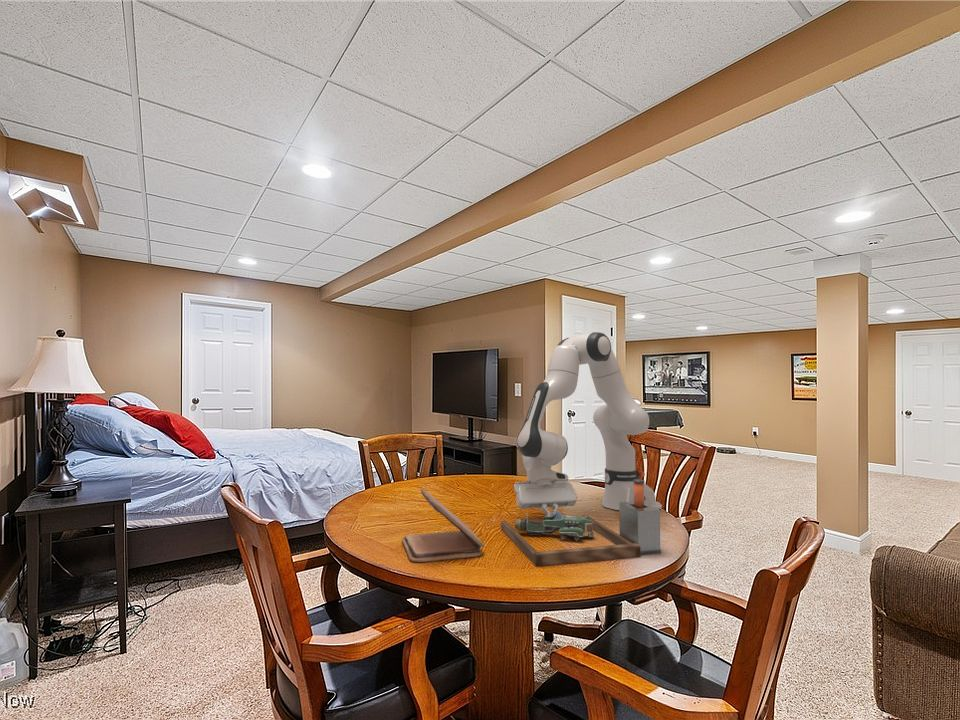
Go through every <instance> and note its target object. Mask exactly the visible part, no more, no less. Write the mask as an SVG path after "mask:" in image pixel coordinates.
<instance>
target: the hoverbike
mask: <svg viewBox="0 0 960 720" xmlns="http://www.w3.org/2000/svg"><path fill="white" fill-rule="evenodd" d="M528 513H529V512H526V518H517V519H516V520H514V523H513V524H512V525H514V529H515V530H516V531H517V530H518V531H525V532H526V533H527V535H528V536H530V537H532V536H536V537H537V538H539V537H541V536H542V535H543V534H544V535H545V536H551V535H552V534H553V533H555V532H557V531H558V532H559V534H560V539H561V540H563V541H564V540H565V539H566V538H567V536H569V537H573V539H574V541H576V542H577V541H580V540H584V537H585V535H584V534H587V538H588V539H587V540H589V539H591V540H592V538H594V537H595V533H594V530H593V529H592V523H593V522H592V521H591V520H590V519H589V518H586V517H587V516H588V515H587V516H585V517H583V516H573V515H563V513H561V512H560V510H557V511H556V514H555V515H553V517H547V516H544V517H543V518H542V519H541V518H540V519H539V518H531V517H529V516H528ZM528 517H529V518H528Z"/></svg>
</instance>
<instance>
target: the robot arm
mask: <svg viewBox="0 0 960 720" xmlns="http://www.w3.org/2000/svg"><path fill="white" fill-rule="evenodd" d="M586 364H587V365H588V367H589V371H590V376H591V379H592V382H593V385H594V388H595V393H596V395H597V396H598V398H600V400H602V401H603V402H604V403H605V405H600V406H599V407H597V408H596V409H595V410H594V412H593V416H592V419H593V423H594V425H595V426H596V428H597V429H598V430H599V432H600V434H601V437H602V441H603V443H604V450H605V451H604V452H605V468H604V483H605V485H604V494H603V498H602V502H601V506H602V507H604V508H607V509H611V510H616V511H619V502H634V482H633V480H634V479H640V477H641V478H644V477H645V476H646V473H645V472H644V471H642V470H637V469H636V449H635V447H634V446H633V445H632V444H631V443H630V441H629V439H628V436H635V435H636V436H637V435H642V434H644V433H645V432H646V431H647V430H648V429H649V426H650V416H649V413H648V412H647V411H646V410H645V409H643V408H642V407H641V406H640V405H639V404H638V403H637V402H636V400H635V399H634V397H633V396H632V395H631V393H630V392H629V390H628V388H627V387H626V383H625V379H624V378H623V374H622V370H621V367H620V365H619V362H618V360H617V357H616V355H615V353H614V351H613V350H612V343H611V339H609V337H608V336H607V335H606V334H605V333H603V332H598V331H597V332H591V333H589V332H588V333H581V334H578V335H575V336H571V337H566V338H564V339H562V340H561V341H560V342H558V344H557V345H556V347H554V349H553V350H552V353H551V355H550V359H549V363H548V366H547V367H548V368H547V372H546V376H545V379H544V380H543V382H541V383H539V384H538V385H537V387H536V388H535V390H534V393H533V395H532V397H531V401H530V404H529V408H528V410H527V414H526V417H525V419H524V422H523V425H522V427H521V429H520V431H519V433H518V435H517V439H516V446H517V448H518V451H519V452H520V453H521V458H522V462H523V466H524V469H525V470H526V477H527V481H517V482H515V483H514V484H513V491H514V493H516V494H515V496H516V504H517V507H518V508H520V510H526V509H540V510H541V512H542V513H543V514H544V515H545V517H553V515H555V514H556V511H558V508H560V507H562V508H563V507H574V506H575V505H576V503H577V501H578V496H577V492H576V491H575V490H576V489H575V488H574V486H573V484H572V483H571V482H570V481H569V476H568V474H566V473H563V472H559V471H555V470H553V469H552V466H555V465H557V464H559V463H560V462H561V461H563V460H564V459H565V458H566V456H567V454H568V451H569V447H568V446H569V445H568V441H567V439H566V438H565V436H563V435H561V434H558V433H555V432H551V431H548V430H544V429H542V428H541V424H542V421H543V418H544V415H545V412H546V409H547V406H548V404H549V403H550V402H552V401H557V400H564V399H567V398H569V397H570V396H572V395H573V394H574V393H575V391H576V389H577V385H578V380H579V373H580V372H579V371H580V365H586ZM627 435H628V436H627ZM656 499H657V498H656V494H655V492H654V489H652V488H651V487H650V486H648V485H647V484H646V482H645V483H644V503H646V504H648V505H650V506H652V507H655V508H657V509H659V510H661V509H662V508H663V505H662V503H660V502H658V501H656ZM548 508H551V510H552V511H550V510H548Z"/></svg>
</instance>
